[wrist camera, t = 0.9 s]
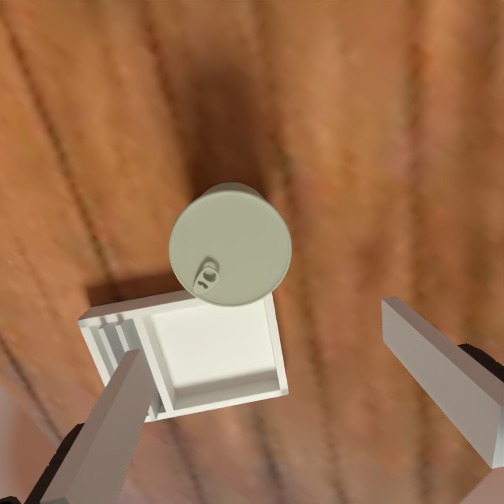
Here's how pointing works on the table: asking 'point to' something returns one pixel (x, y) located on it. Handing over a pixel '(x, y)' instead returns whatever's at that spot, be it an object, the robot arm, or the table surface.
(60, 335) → the table surface
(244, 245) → the can
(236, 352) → the rack
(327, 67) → the table surface
